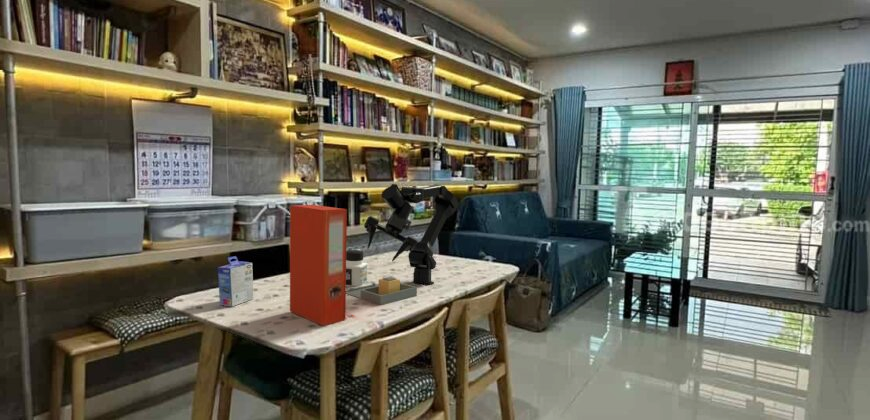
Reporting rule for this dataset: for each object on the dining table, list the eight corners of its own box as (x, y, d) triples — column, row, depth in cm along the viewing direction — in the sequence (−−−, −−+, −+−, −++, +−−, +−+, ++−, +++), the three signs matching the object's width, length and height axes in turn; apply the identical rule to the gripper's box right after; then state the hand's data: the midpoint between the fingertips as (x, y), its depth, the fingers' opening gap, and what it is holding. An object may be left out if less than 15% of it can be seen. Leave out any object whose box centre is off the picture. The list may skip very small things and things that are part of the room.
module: (389, 294, 160) (390, 275, 159) (399, 297, 156) (400, 278, 156) (378, 296, 156) (378, 278, 156) (388, 300, 153) (388, 280, 152)
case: (395, 291, 166) (395, 281, 166) (416, 297, 159) (416, 287, 158) (359, 299, 154) (359, 289, 154) (380, 306, 147) (380, 296, 147)
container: (360, 287, 170) (360, 252, 168) (340, 286, 171) (340, 251, 170) (367, 282, 177) (367, 248, 176) (348, 281, 179) (348, 247, 177)
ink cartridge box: (240, 297, 155) (240, 253, 153) (254, 299, 153) (253, 255, 151) (217, 305, 145) (216, 259, 144) (232, 307, 143) (231, 260, 142)
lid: (377, 285, 173) (377, 281, 173) (395, 291, 166) (395, 286, 166) (341, 293, 161) (341, 288, 161) (359, 299, 154) (359, 294, 154)
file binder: (313, 306, 146) (313, 204, 143) (346, 319, 134) (346, 208, 131) (289, 311, 140) (289, 205, 137) (322, 326, 128) (322, 210, 126)
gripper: (379, 195, 155) (358, 233, 148) (429, 220, 157) (410, 260, 149) (374, 208, 165) (353, 245, 158) (420, 232, 166) (403, 269, 159)
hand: (380, 254), depth 156 cm, fingers open, 9 cm apart
